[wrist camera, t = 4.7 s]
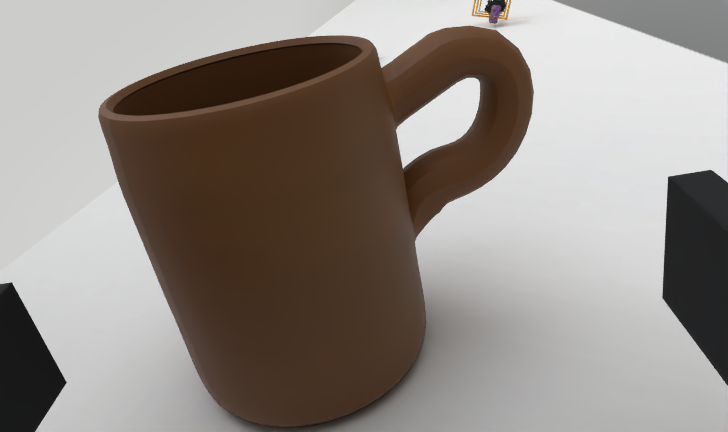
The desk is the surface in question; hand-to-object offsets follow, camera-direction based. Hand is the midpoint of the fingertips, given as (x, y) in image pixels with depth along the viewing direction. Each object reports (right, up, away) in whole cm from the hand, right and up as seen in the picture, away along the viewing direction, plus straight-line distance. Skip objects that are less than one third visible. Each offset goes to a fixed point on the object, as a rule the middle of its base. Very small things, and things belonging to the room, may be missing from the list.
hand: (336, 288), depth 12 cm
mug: (+1, -3, +8) cm, 9 cm away
